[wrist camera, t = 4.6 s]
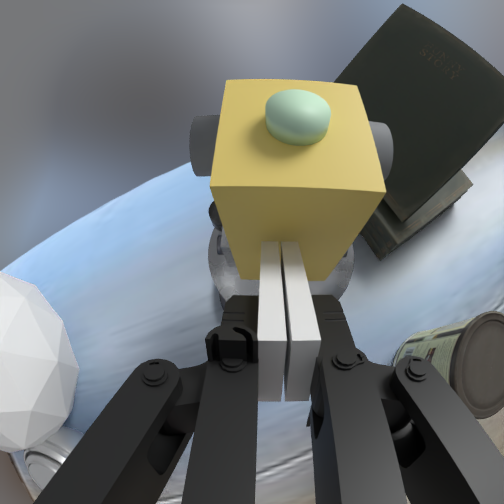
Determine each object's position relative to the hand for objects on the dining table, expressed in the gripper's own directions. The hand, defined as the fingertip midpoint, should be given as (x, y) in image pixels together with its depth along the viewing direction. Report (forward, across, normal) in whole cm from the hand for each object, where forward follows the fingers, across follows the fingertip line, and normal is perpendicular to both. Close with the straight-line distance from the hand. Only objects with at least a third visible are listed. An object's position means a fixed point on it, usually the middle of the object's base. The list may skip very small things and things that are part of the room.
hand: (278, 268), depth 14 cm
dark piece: (+32, +17, 0) cm, 36 cm away
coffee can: (+11, +21, -20) cm, 31 cm away
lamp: (+6, -30, -26) cm, 40 cm away
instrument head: (+9, +1, -3) cm, 9 cm away
